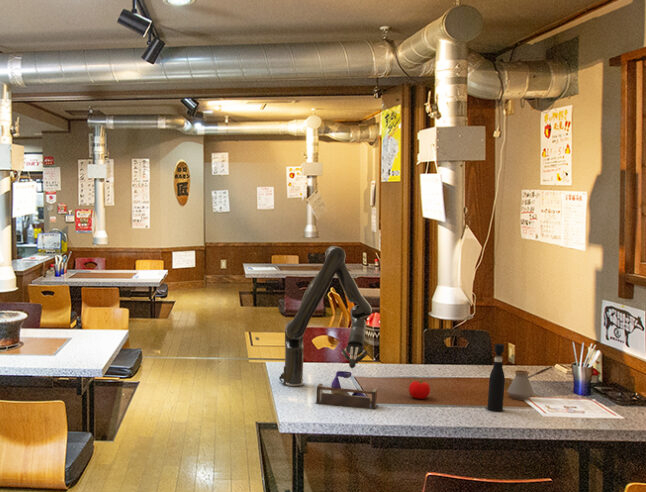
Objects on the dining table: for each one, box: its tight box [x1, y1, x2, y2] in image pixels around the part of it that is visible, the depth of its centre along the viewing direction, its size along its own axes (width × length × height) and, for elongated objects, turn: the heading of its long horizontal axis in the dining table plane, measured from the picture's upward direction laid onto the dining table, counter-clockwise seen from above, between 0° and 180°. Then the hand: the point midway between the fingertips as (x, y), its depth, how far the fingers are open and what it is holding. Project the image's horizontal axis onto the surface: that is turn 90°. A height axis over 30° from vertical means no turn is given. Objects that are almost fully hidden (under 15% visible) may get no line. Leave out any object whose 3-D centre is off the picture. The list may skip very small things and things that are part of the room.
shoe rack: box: [315, 383, 378, 410], centre depth 350 cm, size 26×7×8 cm, turn 69°
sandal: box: [330, 370, 372, 404], centre depth 353 cm, size 8×20×15 cm, turn 89°
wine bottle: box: [486, 343, 506, 413], centre depth 338 cm, size 6×6×30 cm
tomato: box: [408, 380, 431, 400], centre depth 360 cm, size 9×10×8 cm
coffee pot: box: [506, 366, 555, 401], centre depth 359 cm, size 21×12×15 cm, turn 97°
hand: (351, 367), depth 362 cm, fingers closed
